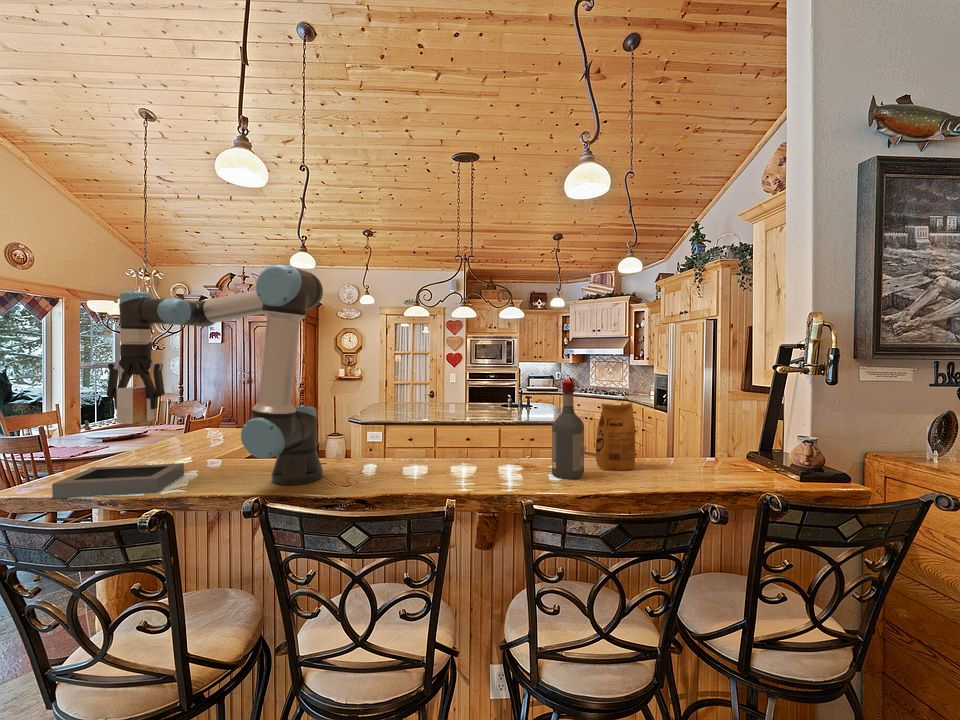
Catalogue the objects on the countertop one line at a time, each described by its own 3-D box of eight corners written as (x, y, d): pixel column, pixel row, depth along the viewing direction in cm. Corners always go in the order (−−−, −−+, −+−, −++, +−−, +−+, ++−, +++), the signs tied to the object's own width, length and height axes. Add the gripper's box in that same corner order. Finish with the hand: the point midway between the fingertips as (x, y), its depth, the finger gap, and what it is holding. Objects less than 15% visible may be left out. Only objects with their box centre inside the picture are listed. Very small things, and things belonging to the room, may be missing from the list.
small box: (132, 424, 136) (132, 388, 136) (116, 423, 137) (115, 387, 137) (156, 420, 144) (155, 386, 144) (140, 419, 145) (140, 385, 145)
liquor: (585, 473, 153) (585, 382, 152) (578, 480, 145) (579, 384, 144) (557, 470, 157) (558, 381, 156) (550, 477, 148) (550, 383, 147)
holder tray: (184, 475, 152) (183, 463, 152) (157, 492, 134) (156, 478, 134) (93, 479, 147) (92, 467, 147) (52, 498, 129) (52, 483, 129)
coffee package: (593, 463, 166) (593, 401, 165) (628, 463, 166) (629, 401, 165) (600, 471, 156) (601, 405, 155) (638, 471, 156) (638, 405, 155)
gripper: (178, 344, 145) (178, 417, 146) (105, 343, 141) (106, 418, 142) (166, 344, 138) (167, 421, 139) (89, 343, 134) (90, 422, 135)
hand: (136, 420), depth 140 cm, fingers closed on small box, 7 cm apart
